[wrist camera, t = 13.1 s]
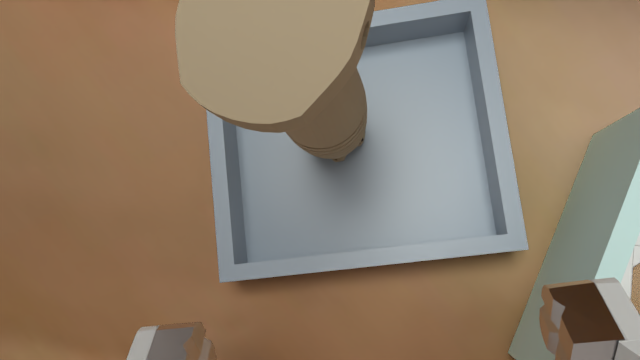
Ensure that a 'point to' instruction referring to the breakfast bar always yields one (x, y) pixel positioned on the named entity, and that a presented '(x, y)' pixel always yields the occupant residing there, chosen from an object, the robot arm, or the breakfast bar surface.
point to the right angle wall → (592, 228)
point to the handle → (279, 67)
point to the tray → (381, 162)
